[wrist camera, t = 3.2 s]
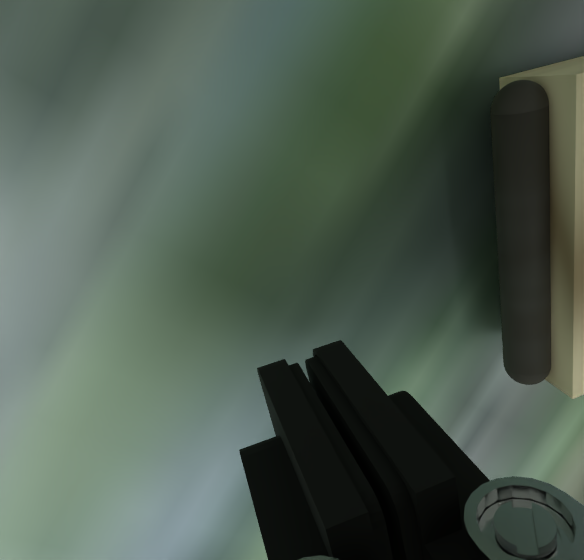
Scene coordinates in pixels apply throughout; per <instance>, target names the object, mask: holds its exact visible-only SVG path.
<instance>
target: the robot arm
mask: <svg viewBox="0 0 584 560" xmlns="http://www.w3.org/2000/svg"><path fill="white" fill-rule="evenodd" d="M313 356H314V357H312V358H310V359H307V360H305V363H306V368H307V373H308V377H309V381H310V382H309V381H308V379H307V377H306V376H305V374H304V372H303V371H302V369H301V367H300V366H299V364H298V363H295V364H292V365H289V366H288V364H287V362H286V360H285V359H283V360H280V361H277V362H274V363H271V364H268V365H265V366H262V367H259V368H257V370H258V375H259V378H260V382H261V385H262V389H263V392H264V396H265V399H266V403H267V406H268V410H269V413H270V417H271V420H272V424H273V427H274V431H275V434H276V437H273V438H271V439H268V440H265V441H262V442H260V443H257V444H254V445H251V446H249V447H246V448H243V449H240V450H239V451H240V455H241V459H242V463H243V467H244V470H245V474H246V478H247V482H248V485H249V489H250V493H251V497H252V500H253V504H254V508H255V512H256V516H257V519H258V523H259V527H260V531H261V534H262V538H263V542H264V546H265V550H266V553H267V557H268V560H584V506H583V505H582V504H581V503H579V502H578V501H576V500H575V499H574V498H572V497H571V496H569V495H568V494H567V493H565V492H563V491H562V490H560V489H558V488H556V487H554V486H553V485H551V484H549V483H546V482H542V481H539V480H536V479H533V478H525V477H515V476H512V477H504V478H496V479H494V480H491V481H490V480H489V479H488V478H487V477H486V476H485V475H484V474H483V473H482V472H481V471H480V470H479V468H478V467H477V466H476V465H475V464H474V463H473V462H472V461H471V460H470V459H469V458H468V457H467V455H466V454H465V453H464V452H463V451H462V450H461V449H460V448H459V447H458V446H457V445H456V444H455V442H454V441H453V440H452V439H451V438H450V437H449V436H448V435H447V434H446V433H445V432H444V431H443V429H442V428H441V427H440V426H439V425H438V424H437V423H436V422H435V421H434V420H433V419H432V418H431V416H430V415H429V414H428V413H427V412H426V411H425V410H424V409H423V408H422V407H421V406H420V404H419V403H418V402H417V401H416V400H415V399H414V398H413V397H412V396H411V395H410V394H409V393H408V392H406V391H400V392H397V393H394V394H392V395H389V396H387V394H386V393H385V392H384V391H383V390H382V388H381V387H380V386H379V385H378V384H377V382H376V381H375V380H374V379H373V378H372V376H371V375H370V374H369V373H368V372H367V371H366V369H365V368H364V367H363V366H362V365H361V363H360V362H359V361H358V360H357V359H356V357H355V356H354V355H353V354H352V353H351V351H350V350H349V349H348V348H347V347H346V345H345V344H344V343H343V342H342V341H341V340H340V341H336V342H333V343H330V344H327V345H324V346H322V347H319V348H316V349H313Z"/></svg>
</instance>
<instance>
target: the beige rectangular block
mask: <svg viewBox="0 0 584 560" xmlns="http://www.w3.org/2000/svg"><path fill="white" fill-rule="evenodd" d="M499 83H500V91H499V92H498V93H497V94H496V96H495V97H494V99H493V102H492V105H491V111H490V116H491V134H492V153H493V172H494V191H495V210H496V229H497V248H498V267H499V286H500V305H501V324H502V342H503V361H504V367H505V370H506V372H507V373H508V375H509V376H510V377H511V378H512V379H513V380H515V381H516V382H519V383H522V384H526V385H532V384H537V383H539V382H541V381H543V380H544V379H545V380H547V381H548V382H549V383H551V384H552V385H554V386H555V387H556V388H558V389H559V390H561V391H562V392H564V393H565V394H566V395H568V396H569V397H571V398H572V399H574V398H576V397H579V396H581V395H584V56H582V57H578V58H574V59H570V60H566V61H562V62H558V63H555V64H551V65H547V66H543V67H539V68H535V69H531V70H527V71H524V72H520V73H516V74H512V75H508V76H504V77H500V78H499Z"/></svg>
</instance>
